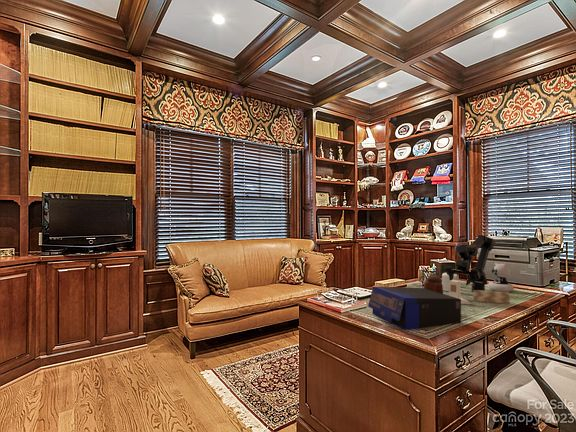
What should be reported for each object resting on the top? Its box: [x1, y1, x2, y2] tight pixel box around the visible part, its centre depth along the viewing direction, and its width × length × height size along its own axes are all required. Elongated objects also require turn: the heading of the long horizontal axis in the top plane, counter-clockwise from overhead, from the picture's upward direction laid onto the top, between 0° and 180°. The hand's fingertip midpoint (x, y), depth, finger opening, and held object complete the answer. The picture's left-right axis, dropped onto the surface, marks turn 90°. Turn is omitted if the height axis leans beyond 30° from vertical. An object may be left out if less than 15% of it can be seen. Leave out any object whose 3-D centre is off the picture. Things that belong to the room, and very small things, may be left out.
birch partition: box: [473, 290, 511, 304], centre depth 185 cm, size 18×2×6 cm, turn 71°
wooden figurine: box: [423, 274, 444, 294], centre depth 171 cm, size 12×6×18 cm, turn 32°
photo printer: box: [441, 272, 460, 292], centre depth 210 cm, size 10×4×12 cm, turn 39°
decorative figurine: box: [487, 261, 515, 293], centre depth 215 cm, size 15×15×20 cm
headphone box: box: [367, 286, 462, 331], centre depth 155 cm, size 25×35×14 cm
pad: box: [460, 296, 472, 305], centre depth 186 cm, size 12×12×1 cm
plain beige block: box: [448, 280, 461, 299], centre depth 186 cm, size 4×5×11 cm
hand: (458, 283), depth 189 cm, fingers open, 9 cm apart
